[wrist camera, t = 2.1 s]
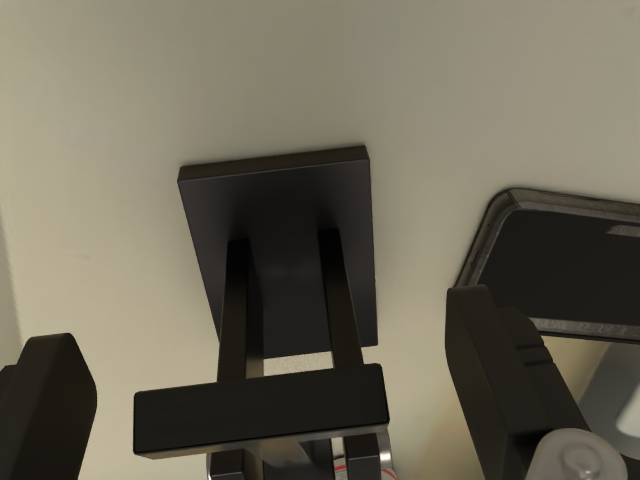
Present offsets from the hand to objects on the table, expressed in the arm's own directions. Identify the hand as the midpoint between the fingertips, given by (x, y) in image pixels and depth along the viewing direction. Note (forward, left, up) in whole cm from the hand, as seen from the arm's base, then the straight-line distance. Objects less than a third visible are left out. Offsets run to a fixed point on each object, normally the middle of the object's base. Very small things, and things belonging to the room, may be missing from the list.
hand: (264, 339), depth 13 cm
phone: (+12, +16, -14) cm, 24 cm away
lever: (+4, 0, -2) cm, 4 cm away
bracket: (+9, 0, -14) cm, 17 cm away
